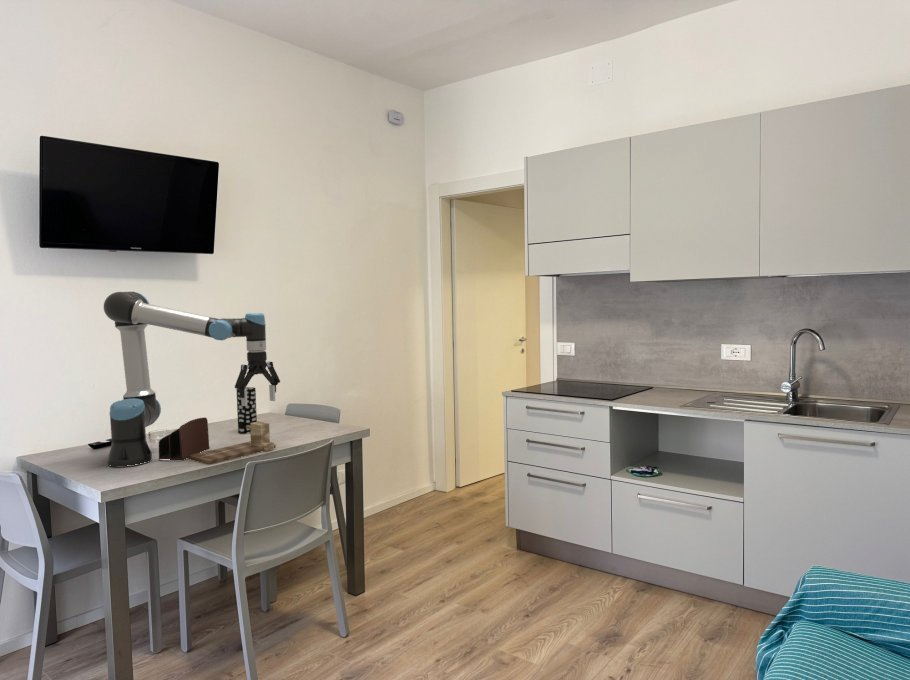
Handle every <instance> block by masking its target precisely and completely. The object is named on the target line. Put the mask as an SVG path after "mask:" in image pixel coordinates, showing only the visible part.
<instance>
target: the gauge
mask: <svg viewBox="0 0 910 680" xmlns="http://www.w3.org/2000/svg"><path fill="white" fill-rule="evenodd" d="M246 428H248V429H251V433H250V441H251V445H254V446H258V447H263V448H264V451H263V452H268V451H272V450H275V449H274V444H275V443H274V442H273V441H270V440H271V439H270V433H271V432H270V423H269V422H264V421H263V422H262V421H258V420H257V422H253V423H250V425H246Z"/></svg>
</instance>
